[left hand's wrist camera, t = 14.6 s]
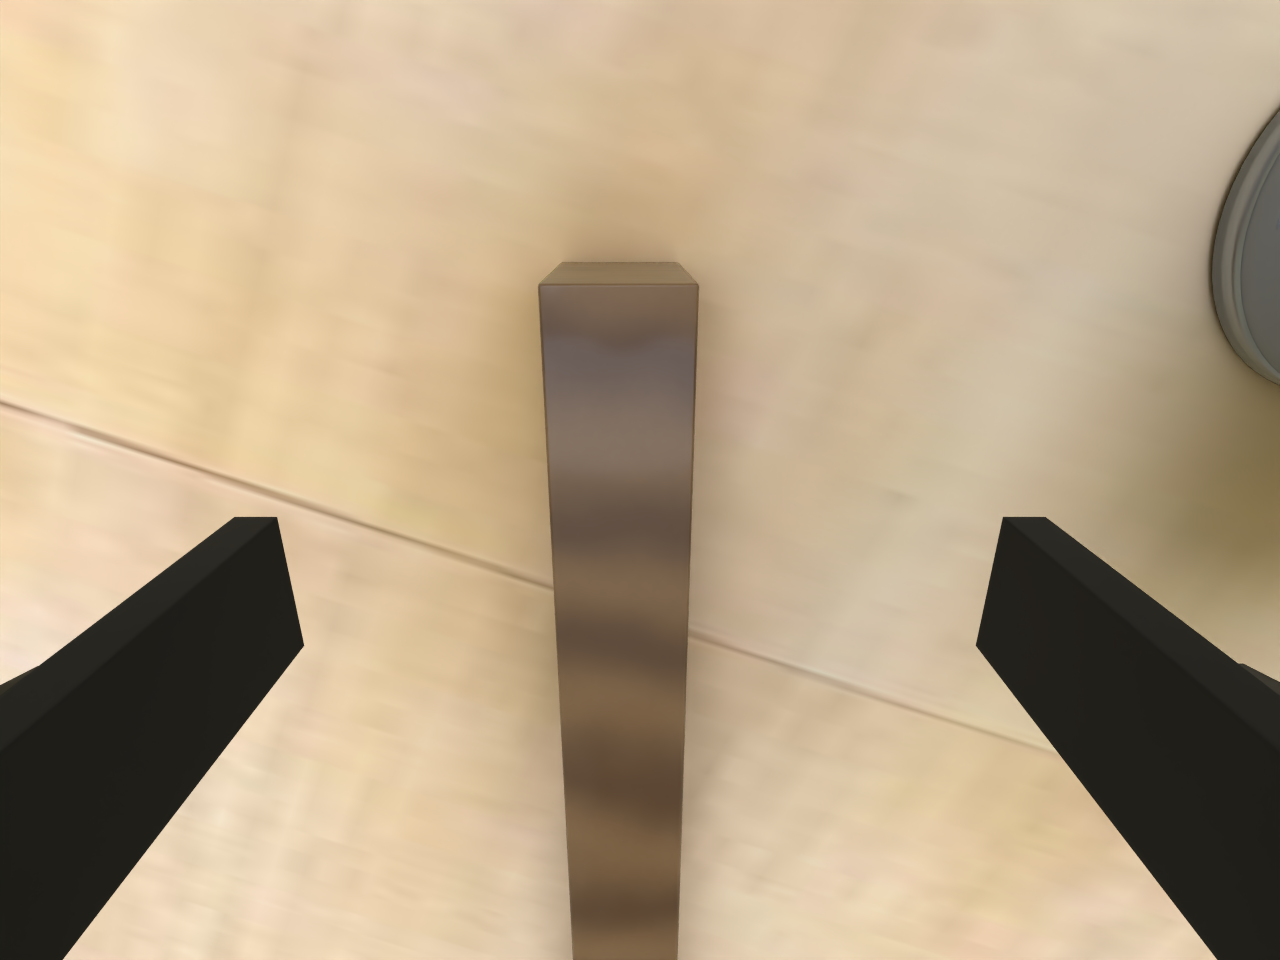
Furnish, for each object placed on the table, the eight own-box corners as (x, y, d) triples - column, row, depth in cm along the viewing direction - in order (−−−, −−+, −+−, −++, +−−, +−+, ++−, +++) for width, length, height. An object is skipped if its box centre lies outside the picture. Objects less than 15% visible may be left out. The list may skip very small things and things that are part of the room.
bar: (560, 262, 29) (537, 283, 21) (679, 262, 29) (699, 283, 21) (594, 1134, 53) (590, 1293, 45) (660, 1132, 53) (667, 1291, 45)
